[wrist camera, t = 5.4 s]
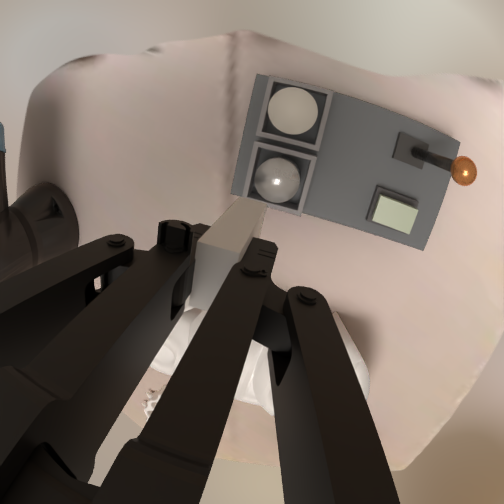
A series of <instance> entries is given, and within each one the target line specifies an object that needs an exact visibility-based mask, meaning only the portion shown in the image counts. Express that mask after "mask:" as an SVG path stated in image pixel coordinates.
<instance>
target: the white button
mask: <svg viewBox="0 0 504 504" xmlns="http://www.w3.org/2000/svg"><path fill="white" fill-rule="evenodd" d="M268 115H269V118H270V121H271V122H272V124H273V125H274V126H275V127H276V128H277V129H278V130H280V131H282V132H284V133H287V134H301V133H304V132H306V131H307V130H309V129H310V128H311V127H312V126H313V125H314V123H315V121H316V119H317V115H318V108H317V104H316V101H315V100H314V98H313V97H312V96H311V95H310V94H309V93H308V92H307V91H305V90H303V89H300V88H296V87H288V88H284V89H281V90H279V91H278V92H277V93H275V94H274V95H273V97H272V98H271V100H270V102H269V105H268Z"/></svg>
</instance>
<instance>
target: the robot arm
mask: <svg viewBox="0 0 504 504" xmlns="http://www.w3.org/2000/svg"><path fill="white" fill-rule="evenodd" d="M5 153H6V149H5V142H4V127H3V125H2V123H1V122H0V504H199V502H200V499H201V497H202V493H203V490H204V488H205V485H206V482H207V479H208V476H209V473H210V470H211V467H212V464H213V461H214V458H215V455H216V452H217V449H218V446H219V443H220V440H221V437H222V434H223V431H224V428H225V425H226V422H227V419H228V415H229V412H230V409H231V406H232V403H233V400H234V397H235V393H236V390H237V387H238V384H239V381H240V377H241V374H242V371H243V368H244V364H245V361H246V358H247V355H248V351H249V348H250V345H251V341H252V340H254V341H256V342H258V343H260V344H261V345H263V346H265V347H267V348H268V352H267V357H268V365H269V373H270V382H271V390H272V399H273V407H274V416H275V424H276V433H277V442H278V450H279V459H280V467H281V475H282V484H283V493H284V502H285V504H400V502H399V498H398V494H397V491H396V488H395V485H394V482H393V478H392V475H391V472H390V469H389V466H388V463H387V459H386V456H385V453H384V450H383V447H382V444H381V441H380V439H379V436H378V433H377V430H376V427H375V424H374V421H373V419H372V416H371V413H370V410H369V407H368V405H367V402H366V399H365V396H364V394H363V391H362V388H361V386H360V383H359V380H358V378H357V375H356V373H355V370H354V367H353V365H352V362H351V360H350V357H349V355H348V352H347V349H346V347H345V344H344V342H343V339H342V337H341V334H340V332H339V330H338V327H337V325H336V322H335V320H334V317H333V315H332V313H331V310H330V308H329V305H328V303H327V301H326V299H325V298H324V296H323V295H322V294H320V293H319V292H318V291H316V290H313V289H312V288H309V287H304V286H296V287H292V288H290V289H289V290H288V292H286V291H284V290H282V289H280V288H279V287H277V286H276V285H275V284H274V283H273V282H272V280H271V273H272V269H273V265H274V262H275V258H276V255H277V251H278V248H277V246H276V244H275V243H273V242H270V241H266V240H263V239H259V236H260V232H261V228H262V224H263V220H264V215H265V211H266V207H267V203H263V202H259V201H256V200H252V199H248V198H244V197H239V198H238V199H237V200H236V201H235V202H234V203H233V205H232V206H231V207H230V208H229V209H228V210H227V211H226V212H225V213H224V214H223V215H222V216H221V217H220V218H219V219H218V220H217V221H216V222H215V223H214V224H213V225H212V226H208V225H204V224H201V223H199V224H196V225H191V224H189V223H186V222H184V221H179V220H165V221H161V222H159V226H158V237H157V244H156V245H155V246H154V247H153V248H151V249H150V250H149V251H144V250H136V249H134V241H133V239H132V238H130V237H128V236H125V235H123V234H121V235H120V234H114V235H108V236H105V237H102V238H100V239H97V240H95V241H92V242H90V243H87V244H85V245H82V246H80V247H78V248H77V245H78V238H79V233H78V224H77V219H76V216H75V213H74V210H73V208H72V205H71V203H70V202H69V200H68V198H67V197H66V195H65V194H64V193H63V192H62V191H61V190H60V189H59V188H58V187H57V186H55V185H53V184H51V183H41V184H38V185H35V186H33V187H31V188H29V189H28V190H27V191H26V192H25V193H24V194H23V195H21V196H20V197H19V198H18V199H17V200H16V201H15V202H14V203H13V204H12V205H11V206H9V207H8V197H7V186H6V172H5ZM99 276H100V279H101V288H100V289H97V290H95V287H94V279H95V278H97V277H99ZM189 295H190V298H189V306H192V307H195V308H198V309H201V310H204V311H207V313H206V315H205V316H204V318H203V320H202V322H201V324H200V325H199V327H198V329H197V331H196V333H195V335H194V336H193V338H192V340H191V342H190V344H189V345H188V347H187V349H186V351H185V353H184V355H183V356H182V358H181V360H180V362H179V364H178V365H177V367H176V369H175V371H174V373H173V375H172V376H171V378H170V380H169V382H168V384H167V386H166V387H165V389H164V391H163V393H162V395H161V397H160V399H159V400H158V402H157V404H156V406H155V408H154V410H153V411H152V413H151V415H150V417H149V419H148V421H147V423H146V424H145V426H144V428H143V430H142V432H141V433H140V435H139V436H138V437H137V438H134V439H130V440H129V441H128V442H127V443H126V444H125V445H124V446H123V448H122V449H121V451H120V452H119V454H118V456H117V457H116V459H115V461H114V463H113V465H112V466H111V468H110V470H109V472H108V474H107V476H106V477H105V479H104V481H103V483H102V485H101V487H98V486H95V485H92V484H88V481H89V479H90V477H91V475H92V473H93V469H94V464H95V456H96V453H97V451H98V449H99V448H100V446H101V444H102V443H103V441H104V439H105V438H106V436H107V434H108V432H109V431H110V429H111V427H112V426H113V424H114V423H115V421H116V419H117V418H118V416H119V414H120V413H121V411H122V409H123V408H124V406H125V405H126V403H127V401H128V400H129V398H130V396H131V395H132V393H133V392H134V390H135V388H136V387H137V385H138V384H139V382H140V380H141V379H142V377H143V376H144V374H145V372H146V371H147V369H148V368H149V366H150V364H151V363H152V361H153V360H154V358H155V356H156V355H157V353H158V352H159V350H160V349H161V347H162V345H163V344H164V342H165V341H166V339H167V338H168V336H169V334H170V333H171V331H172V330H173V328H174V327H175V325H176V324H177V322H178V321H179V319H180V317H181V316H182V314H183V313H184V309H185V301H186V299H187V298H188V296H189Z"/></svg>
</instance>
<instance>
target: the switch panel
mask: <svg viewBox="0 0 504 504" xmlns="http://www.w3.org/2000/svg"><path fill="white" fill-rule="evenodd" d="M288 87H296V88H300V89H303V90H305V91H307V92H308V93H309V94H310V95H311V96H312V97H313V98H314V100H315V101H316V104H317V108H318V115H317V119H316V121H315V123H314V125H313V126H312V127H311V128H310V129H309V130H307V131H306V132H304V133H301V134H287V133H284V132H282V131H280V130H278V129H277V128H276V127H275V126H274V125H273V124H272V122H271V121H270V118H269V115H268V105H269V102H270V100H271V98H272V97H273V95H274V94H275V93H277V92H278V91H279V90H281V89H284V88H288ZM459 146H460V142H459V141H457V140H455V139H453V138H451V137H449V136H447V135H445V134H443V133H441V132H439V131H437V130H435V129H433V128H431V127H428V126H426V125H424V124H422V123H419V122H417V121H415V120H412V119H410V118H408V117H405V116H403V115H400V114H398V113H395V112H393V111H390V110H387V109H385V108H382V107H379V106H377V105H374V104H371V103H368V102H365V101H362V100H359V99H356V98H353V97H350V96H347V95H343V94H340V93H337V92H334V91H332V90H329V89H325V88H321V87H318V86H314V85H310V84H306V83H302V82H297V81H293V80H289V79H284V78H279V77H274V76H265V75H260V74H257V75H256V79H255V83H254V88H253V92H252V96H251V101H250V105H249V110H248V114H247V118H246V123H245V127H244V132H243V137H242V141H241V146H240V150H239V155H238V160H237V165H236V169H235V174H234V179H233V184H232V189H231V194H233V195H237V196H241V197H244V198H248V199H252V200H256V201H259V202H263V203H267V207H268V208H272V209H276V210H279V211H283V212H286V213H290V214H294V215H297V216H301V214H302V213H304V214H308V215H311V216H315V217H318V218H321V219H325V220H328V221H332V222H335V223H338V224H342V225H345V226H348V227H351V228H355V229H358V230H361V231H364V232H367V233H371V234H374V235H377V236H380V237H383V238H386V239H389V240H392V241H395V242H398V243H401V244H404V245H407V246H410V247H413V248H416V249H419V250H422V251H423V250H424V248H425V246H426V243H427V241H428V239H429V236H430V234H431V231H432V229H433V226H434V223H435V221H436V218H437V215H438V213H439V210H440V207H441V204H442V202H443V199H444V196H445V193H446V190H447V187H448V184H449V180H450V177H451V172H449V171H446V170H444V169H441V168H439V167H437V166H434V165H432V164H429V163H427V162H424V161H421V160H419V159H416V158H414V157H413V156H412V155H411V150H412V148H414V147H418V148H421V149H424V150H427V151H430V152H433V153H436V154H439V155H441V156H444V157H447V158H450V159H452V160H454V159H455V158H456V157H457V153H458V149H459ZM275 156H285V157H288V158H290V159H291V160H293V161H294V162H295V163H296V164H297V166H298V168H299V170H300V175H301V179H300V184H299V188H298V191H297V192H296V194H295V195H294V196H293V197H292V198H291V199H289V200H288V201H285V202H281V203H274V202H270V201H268V200H266V199H264V198H263V197H262V196H261V195H260V194H259V193H258V191H257V189H256V187H255V182H254V178H255V173H256V171H257V169H258V168H259V166H260V165H261V164H262V163H264V162H265V161H266V160H268V159H269V158H271V157H275ZM379 194H382V195H385V196H387V197H390V198H393V199H395V200H398V201H401V202H403V203H406V204H408V205H411V206H413V207H416V208H417V209H418V213H417V216H416V218H415V221H414V224H413V226H412V229H411V231H410V234H407V233H404V232H402V231H399V230H396V229H394V228H391V227H388V226H386V225H383V224H380V223H378V222H375V221H372V215H373V212H374V209H375V207H376V204H377V201H378V198H379Z"/></svg>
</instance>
